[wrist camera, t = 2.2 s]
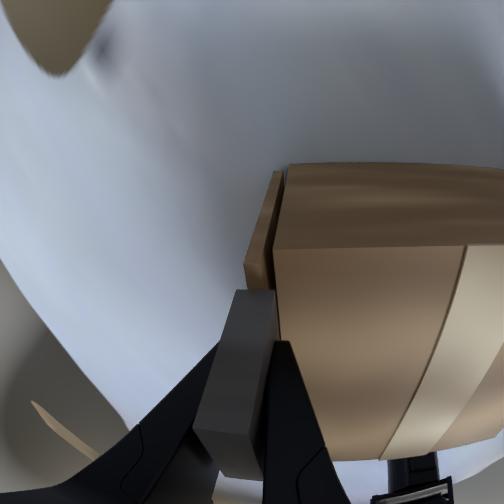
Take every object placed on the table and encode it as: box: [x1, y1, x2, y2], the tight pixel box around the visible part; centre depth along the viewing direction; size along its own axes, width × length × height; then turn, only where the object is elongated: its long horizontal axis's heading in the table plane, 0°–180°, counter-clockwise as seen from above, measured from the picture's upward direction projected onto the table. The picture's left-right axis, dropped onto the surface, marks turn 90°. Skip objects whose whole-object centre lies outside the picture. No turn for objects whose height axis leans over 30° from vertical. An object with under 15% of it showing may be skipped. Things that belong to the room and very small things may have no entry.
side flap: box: [192, 171, 285, 481], centre depth 13 cm, size 14×1×12 cm, turn 7°
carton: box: [273, 162, 504, 461], centre depth 13 cm, size 14×13×8 cm
